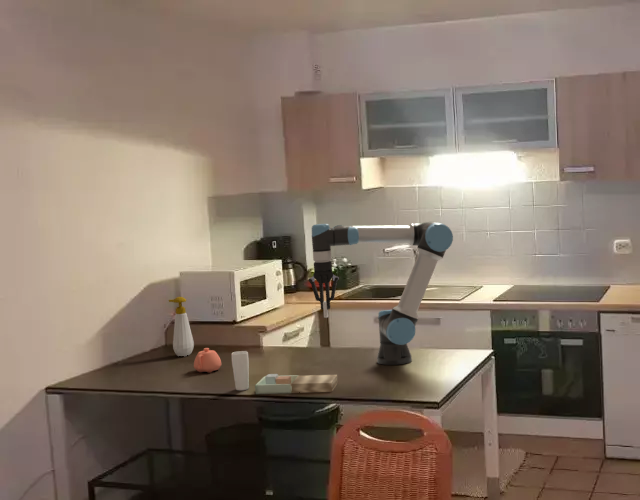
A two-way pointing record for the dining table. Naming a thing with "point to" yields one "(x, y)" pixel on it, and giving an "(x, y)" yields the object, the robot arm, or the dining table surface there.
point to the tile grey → (271, 378)
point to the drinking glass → (241, 369)
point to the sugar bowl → (207, 361)
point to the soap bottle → (182, 330)
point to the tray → (273, 387)
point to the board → (314, 383)
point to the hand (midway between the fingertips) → (326, 317)
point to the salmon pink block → (283, 380)
